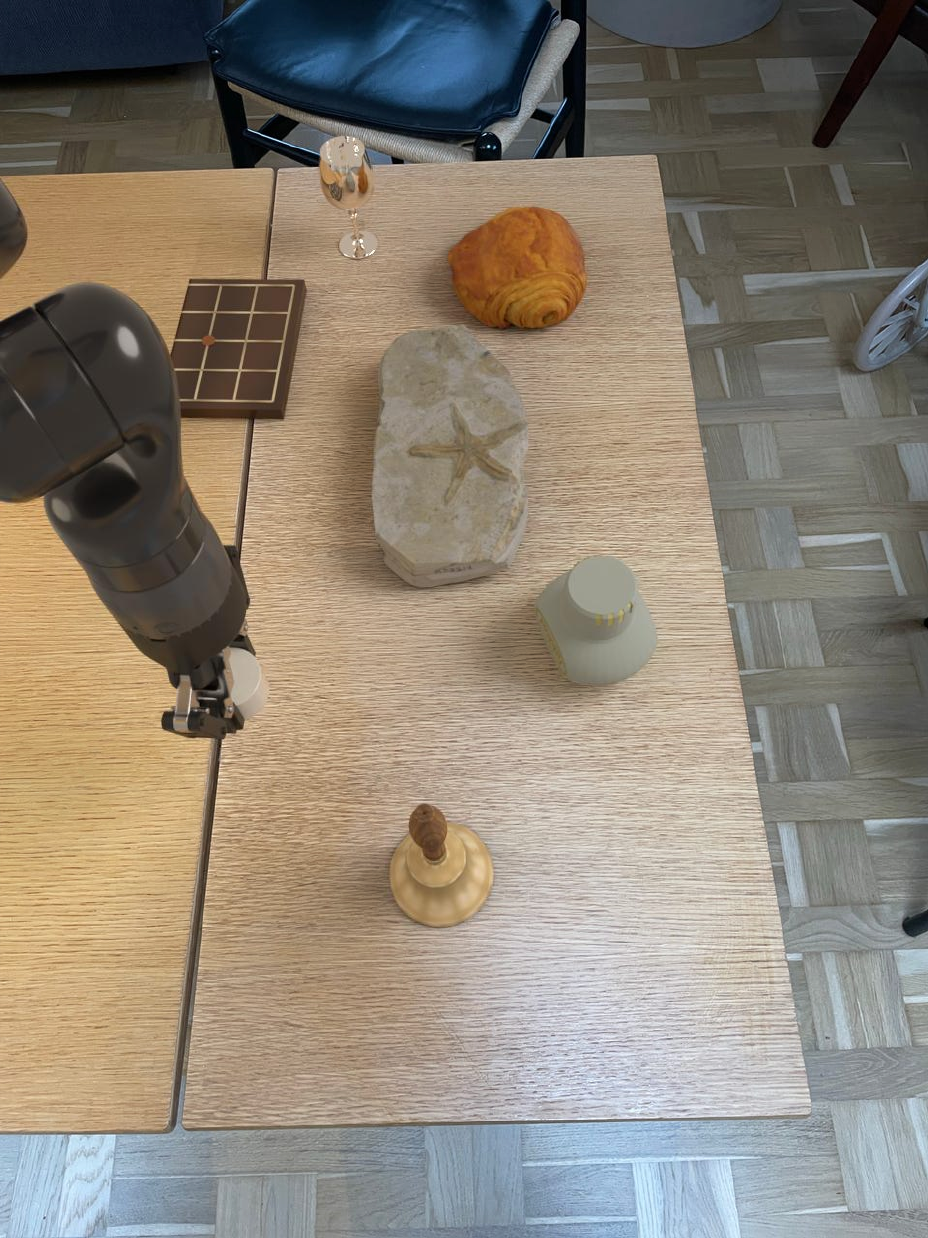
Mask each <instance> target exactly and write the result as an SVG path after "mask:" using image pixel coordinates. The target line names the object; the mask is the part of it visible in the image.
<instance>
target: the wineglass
mask: <svg viewBox="0 0 928 1238" xmlns="http://www.w3.org/2000/svg"><path fill="white" fill-rule="evenodd" d="M318 179H319V186H320V190H321V192H322V193H323V196H324V198H325V200H326V201H327V202H328V203H329V204H330V205H331V206H333V207H334V208H336V209H338V210H342V211H347V214H348V216H349V217H350V220H351V223H352V227H353V231H349V232H348V233H346V234H344V235H343V236H342V237H341V239H340V240H339V242H338V249H339V252H340V253H341V254H342V255H343V256H344V257H346V258H348V259H349V258H350V259H353V260H360V259H365V258H368V257H369V256H372V255H373V254H374V253H375V252H376V251H377V249H378V248H379V240H378V237H377V236H376V234H374V233H372V232H371V231H368V230H362V229H359V227H358V209H360V208H362V207H364V206H365V205H366V204H368V202H369V201H370V200H371V198H372V197H373V195H374V192H375V188H376V181H375V180H376V178H375V172H374V168H373V164H372V161H371V159H370V155H369V153H368V151H367V149H366V146H365V144H364V143H363V141H362V140H360V139H359V138H357V137H354V136H350V135H340V136H335V137H332V138H330V139H327V141H325V142H324V143H323V144H322V145H321V147H320V149H319V156H318Z"/></svg>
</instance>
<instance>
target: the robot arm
mask: <svg viewBox="0 0 928 1238" xmlns="http://www.w3.org/2000/svg"><path fill="white" fill-rule="evenodd" d="M28 233H29V231H28V224H27V221H26V217H25V216H24V213H23V211H22V209H21V208H20V206H19V204H18V202H17V201H16V199H15V197H14V196H13V194H12V193H11V191H10V189H9V188H8V187H7V185H6V184H5V183H4V181H3V180H2V179H1V177H0V281H1V280H2V279H3V278H4V277H6V275H7V274H8V273H9V272H10V271H11V270H12V269H13V268H14V267H15V266H16V264H17V263H18V261H19V260H20V259H21V257H22V256H23V254H24V252H25V250H26V247H27V244H28V237H29V234H28ZM170 354H171V352H170V351H169V348H168V346H167V343H166V341H165V339H164V337H163V334H162V333H161V331H160V329H159V327H158V326H157V324H156V323H155V322H154V320H153V319H152V317H151V316H150V315H149V314H148V313H147V312H146V310H145V309H144V308H143V307H142V306H141V305H140V304H139V303H138V302H136V301H135V299H133V298H131V297H130V296H129V295H127V294H125V293H124V292H122V291H120V290H119V289H117V288H115V287H113V286H110V285H106V284H104V283H99V282H93V281H82V282H81V281H80V282H75V283H72V284H69V285H66V286H63V287H61V288H59V289H57V290H55V291H53V292H51V293H49V294H47V295H45V296H43V297H42V298H40V299H38V300H36V301H34V302H32V306H31V305H27V306H24V307H23V308H21V309H20V310H18V311H15V312H14V313H12V314H10V315H8V316H7V317H4V318H3V319H1V320H0V502H2V503H6V504H16V505H18V504H27V503H30V502H32V501H35V500H37V499H39V498H42V501H43V509H44V512H45V515H46V517H47V519H48V522H49V524H50V526H51V527H52V529H53V531H54V532H55V533H56V535H57V536H58V538H59V539H60V540H61V542H62V543H63V544H64V546H65V547H66V549H67V550H68V551H69V553H70V554H71V555H72V557H73V558H74V559H75V560H76V561H77V563H78V565H79V566H80V567H81V569H82V570H83V571H84V573H85V574H86V577H87V578H88V581H89V583H90V586H91V587H92V590H93V591H94V592H95V594H96V596H97V597H98V599H99V600H100V602H101V603H102V604H103V606H105V608H106V609H107V611H108V612H109V613H110V615H112V617H113V618H114V620H115V621H116V622H117V624H118V625H119V626H120V628H121V629H122V630H123V632H124V633H125V634H126V636H127V638H129V639H130V641H131V642H132V643H133V645H134V646H135V647H136V648H137V650H138V651H139V652H141V654H143V655H144V656H145V657H146V658H148V659H149V660H151V661H153V662H155V663H156V664H158V665H160V666H162V667H164V668H165V669H166V672H167V677H168V681H169V683H170V685H171V686H172V687H173V688H174V689H176V690H177V691H176V698H175V705H172V706H171V707H170V710H164V711H163V712H162V716H161V718H160V723H161V728H162V730H163V731H165V732H168V733H172V734H174V735H177V736H180V737H184V738H187V739H215V740H225V739H226V737H227V734H228V735H236V734H237V731H242V730H244V726H245V722H246V721H245V719H244V718H243V716H242V714H241V713H240V711H239V710H238V708H237V706H236V705H235V703H234V702H232V698H231V692H232V688H233V685H234V678H233V674H232V670H231V666H230V663H229V658H230V655H231V652H230V648H229V647H234V648H241V649H244V650H246V651H248V652H250V653H251V654H252V655H253V656H254V657H255V658H256V656H257V652H256V650H255V648H254V646H253V644H252V641H251V638H250V637H249V635H248V631H249V624H248V620H247V619H246V617H247V610H249V608H250V605H251V598H250V594H249V591H248V587H247V583H246V579H245V576H244V571H243V568H242V564H241V560H240V556H239V554H238V553H239V552H238V549H237V546H236V545H234V544H223V542H222V540H221V538H220V536H219V534H218V532H217V530H216V528H215V527H214V526H213V524H212V522H211V521H210V519H209V518H208V517H207V516H206V514H205V513H204V512H203V511H202V509H201V508H200V505H199V502H198V501H197V499H196V497H195V494H194V493H193V491H192V488H191V487H190V485H189V482H188V480H187V478H186V476H185V473H184V465H183V463H184V462H183V455H182V418H181V409H180V397H179V389H178V383H177V378H176V373H175V369H174V365H173V362H172V359H171V356H170ZM204 698H215V699H217V700H215V699H204Z"/></svg>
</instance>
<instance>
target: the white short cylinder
mask: <svg viewBox="0 0 928 1238" xmlns="http://www.w3.org/2000/svg"><path fill="white" fill-rule="evenodd" d="M229 648H230V652H231V655H230V658H229V663H230V666H231V670H232V674H233V678H234V685H233V688H232V692H231V698H232V702H234V703H235V705H236V706H237V708H238V710H239V711H240V713H241V714H242V716H243V718H244V719H245V721H244V722H246V721H248V720H249V721H250V719H252V718H254V717H256V716H257V715H258V714H259V713H260V712H261V711H262V710H263V709H264V707H266V704H267V702H268V700H269V697H270V683H269V680H268V677H267V676H266V673H265V672H264V670H263V668H262V666H261V664H260V662H259V661H258V659H257V658H256V656H255V657H254V656H253V655H252V654H251V653H250V652H248V651H246V650H244V649H241V648H234V647H229ZM204 699H215V698H204ZM215 700H217V699H215Z"/></svg>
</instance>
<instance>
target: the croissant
mask: <svg viewBox="0 0 928 1238" xmlns="http://www.w3.org/2000/svg"><path fill="white" fill-rule="evenodd" d="M585 258H586V257H585V252H584V249H583V246H582V242H581V240H580V237H579V235H578V233H577V232H576V231H575V229H574V227H573V226H572V225H571V223H570V222H569V221H568V219H566V218H565V217H564V216H563V215H562V214H561V213H559V212H556V211H554V210H552V209H549V208H544V207H540V206H534V205H532V206H523V207H522V206H511V207H508V208H506V209H504V210H503V211H500V212H498V213H497V214H495V215H493V216H492V217H491V218H489V219H488V220H487V221H486V222H485V223H483V224H481V225H480V226H478V227H477V228H476V229H473V230H471V231H469V232H466V234H465V235H463V237H462V238H461V239H460V241H458V242H457V243H456V244H455V245H454V246H453V247H452V248H451V249H450V250H449V252H448V253H447V256H446V261H447V262H448V263H449V265H450V272H451V273H452V275H451V277H452V279H451V280H452V285H453V288H454V291H455V294H456V295H457V297H458V299H459V300H460V302H461V303H462V305H463V307H464V309H465V310H466V311H467V312H468V314H470V315H471V316H473V317H474V318H476V319H477V320H478V321H479V322H481V323H482V324H483V325H486V326H487V327H489V328H496V327H498V328H499V329H500V330H503V329H504V328H509V326H510V325H512V324H513V325H514V326H516V327H518V328H521V329H523V328H530V329H535V328H546V327H548V326H553V325H557V324H559V323H562V322H565V321H567V320H568V318H570V316H571V315H572V314H573V313H574V312H575V310H576V309H577V307H578V306H579V305H580V303H581V302H582V299H584V296H585V293H586V289H587V284H588V273H587V271H586V265H585V262H586V260H585Z"/></svg>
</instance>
